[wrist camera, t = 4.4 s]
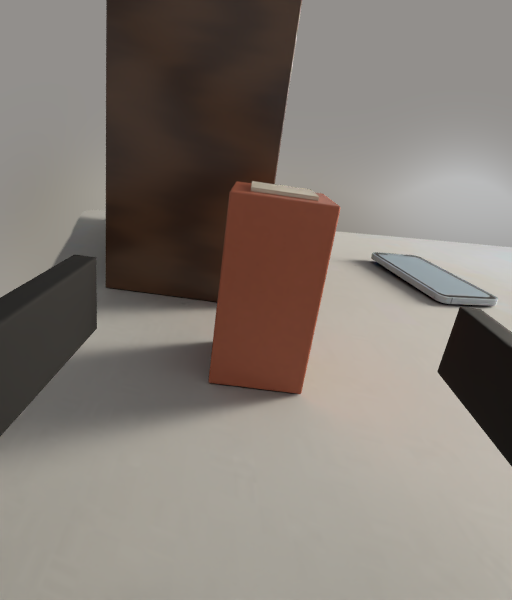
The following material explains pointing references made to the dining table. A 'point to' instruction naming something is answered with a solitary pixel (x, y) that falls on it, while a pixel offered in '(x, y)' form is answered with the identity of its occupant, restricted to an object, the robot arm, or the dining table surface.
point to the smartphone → (434, 280)
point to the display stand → (188, 131)
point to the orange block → (271, 285)
